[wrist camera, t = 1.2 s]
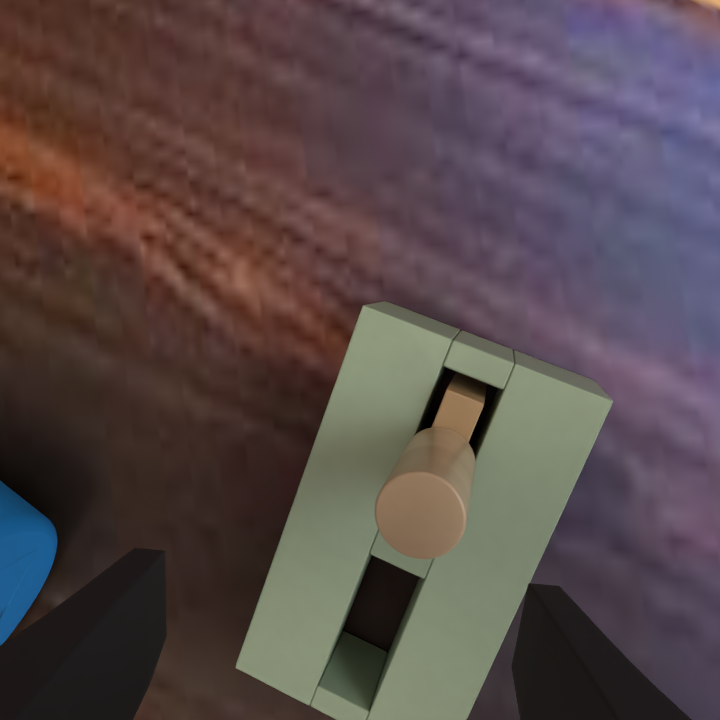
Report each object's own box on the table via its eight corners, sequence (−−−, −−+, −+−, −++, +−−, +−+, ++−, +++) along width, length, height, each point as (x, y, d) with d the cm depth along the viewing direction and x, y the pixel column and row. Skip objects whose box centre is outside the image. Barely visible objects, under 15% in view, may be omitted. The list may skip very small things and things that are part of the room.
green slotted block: (596, 381, 21) (614, 401, 18) (450, 704, 24) (441, 774, 20) (384, 300, 22) (362, 304, 19) (270, 615, 25) (234, 668, 22)
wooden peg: (501, 386, 22) (498, 452, 14) (456, 493, 23) (429, 614, 14) (444, 364, 22) (408, 414, 14) (402, 470, 23) (346, 575, 15)
